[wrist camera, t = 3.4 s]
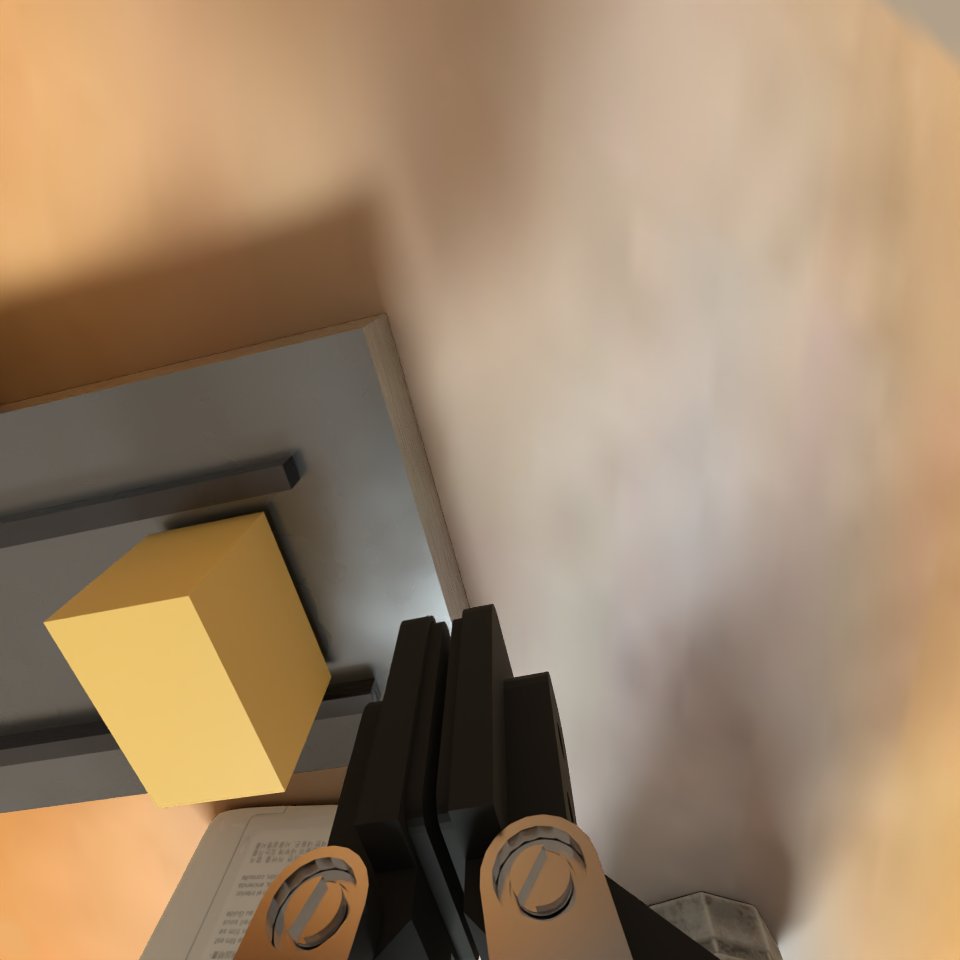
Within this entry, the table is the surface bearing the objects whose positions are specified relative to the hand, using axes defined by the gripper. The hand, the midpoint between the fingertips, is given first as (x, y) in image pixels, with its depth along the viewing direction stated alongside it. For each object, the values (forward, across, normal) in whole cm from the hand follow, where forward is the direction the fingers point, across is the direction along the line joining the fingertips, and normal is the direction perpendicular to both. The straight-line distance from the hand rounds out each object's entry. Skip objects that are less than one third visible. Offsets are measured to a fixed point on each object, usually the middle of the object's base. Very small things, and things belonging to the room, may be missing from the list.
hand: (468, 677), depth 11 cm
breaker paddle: (+4, +6, 0) cm, 7 cm away
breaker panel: (+7, +10, 0) cm, 12 cm away
